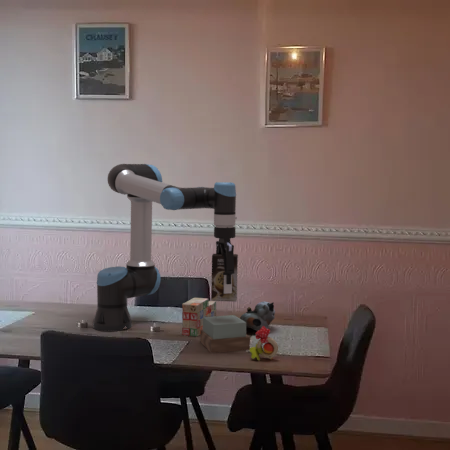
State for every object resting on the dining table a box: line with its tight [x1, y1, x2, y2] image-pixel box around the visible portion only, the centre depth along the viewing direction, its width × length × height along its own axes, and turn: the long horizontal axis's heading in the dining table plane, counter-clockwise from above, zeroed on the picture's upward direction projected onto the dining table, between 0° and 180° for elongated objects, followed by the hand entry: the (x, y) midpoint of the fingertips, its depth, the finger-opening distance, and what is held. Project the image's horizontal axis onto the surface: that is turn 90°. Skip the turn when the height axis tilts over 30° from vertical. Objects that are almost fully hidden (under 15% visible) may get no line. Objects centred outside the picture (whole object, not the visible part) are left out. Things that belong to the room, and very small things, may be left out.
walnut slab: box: [200, 330, 251, 354], centre depth 217 cm, size 14×14×5 cm
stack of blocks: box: [181, 297, 217, 337], centre depth 240 cm, size 21×6×12 cm, turn 161°
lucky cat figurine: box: [239, 301, 276, 332], centre depth 239 cm, size 15×12×14 cm
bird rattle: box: [249, 326, 279, 361], centre depth 202 cm, size 6×11×9 cm
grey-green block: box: [203, 314, 247, 339], centre depth 216 cm, size 12×12×5 cm
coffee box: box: [210, 253, 239, 303], centre depth 214 cm, size 9×6×16 cm
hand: (224, 290), depth 215 cm, fingers closed on coffee box, 8 cm apart
